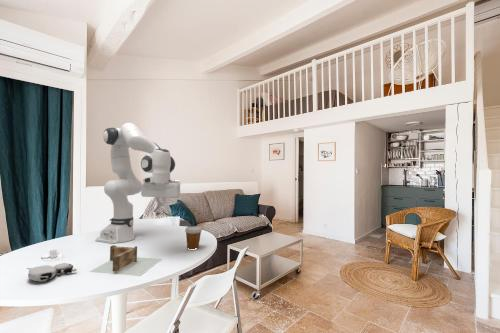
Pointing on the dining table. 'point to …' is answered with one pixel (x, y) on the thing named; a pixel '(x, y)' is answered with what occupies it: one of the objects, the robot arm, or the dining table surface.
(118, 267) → the hinged fence panel
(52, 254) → the teacup and saucer
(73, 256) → the dining table surface
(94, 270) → the card
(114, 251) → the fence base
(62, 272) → the robot toy
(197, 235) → the disposable coffee cup
